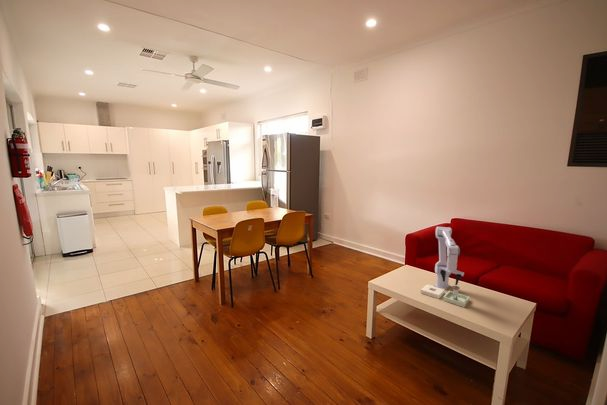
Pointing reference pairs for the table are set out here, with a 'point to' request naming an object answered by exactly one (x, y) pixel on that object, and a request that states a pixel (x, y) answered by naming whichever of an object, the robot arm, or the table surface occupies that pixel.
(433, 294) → the lock block
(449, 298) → the pin tray
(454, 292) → the lock pin
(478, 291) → the table surface
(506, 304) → the table surface
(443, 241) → the robot arm
